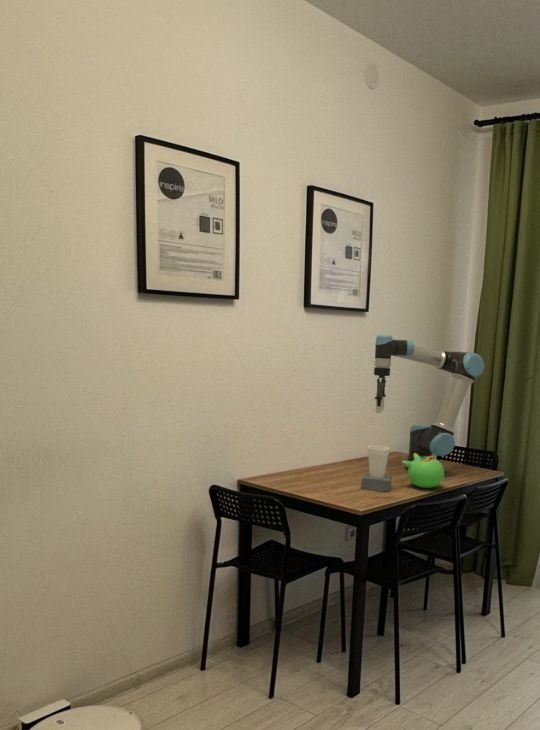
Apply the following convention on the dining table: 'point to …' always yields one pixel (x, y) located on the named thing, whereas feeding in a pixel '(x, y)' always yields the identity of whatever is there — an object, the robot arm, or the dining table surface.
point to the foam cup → (377, 460)
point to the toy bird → (425, 471)
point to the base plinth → (376, 483)
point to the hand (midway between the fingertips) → (379, 411)
